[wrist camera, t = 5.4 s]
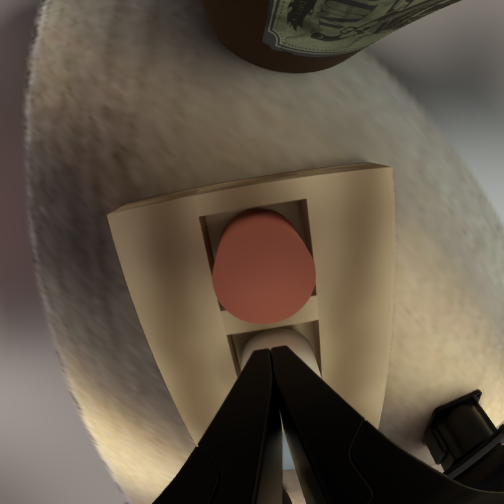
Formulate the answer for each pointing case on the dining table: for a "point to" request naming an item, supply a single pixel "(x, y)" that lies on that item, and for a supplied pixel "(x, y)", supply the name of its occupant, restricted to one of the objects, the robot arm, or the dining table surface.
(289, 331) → the white rounded piece
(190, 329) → the light wood flat tray
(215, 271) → the red button
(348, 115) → the dining table surface
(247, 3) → the olive oil
